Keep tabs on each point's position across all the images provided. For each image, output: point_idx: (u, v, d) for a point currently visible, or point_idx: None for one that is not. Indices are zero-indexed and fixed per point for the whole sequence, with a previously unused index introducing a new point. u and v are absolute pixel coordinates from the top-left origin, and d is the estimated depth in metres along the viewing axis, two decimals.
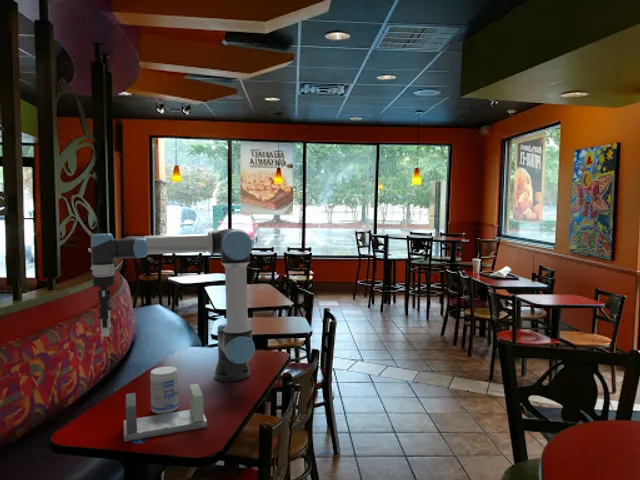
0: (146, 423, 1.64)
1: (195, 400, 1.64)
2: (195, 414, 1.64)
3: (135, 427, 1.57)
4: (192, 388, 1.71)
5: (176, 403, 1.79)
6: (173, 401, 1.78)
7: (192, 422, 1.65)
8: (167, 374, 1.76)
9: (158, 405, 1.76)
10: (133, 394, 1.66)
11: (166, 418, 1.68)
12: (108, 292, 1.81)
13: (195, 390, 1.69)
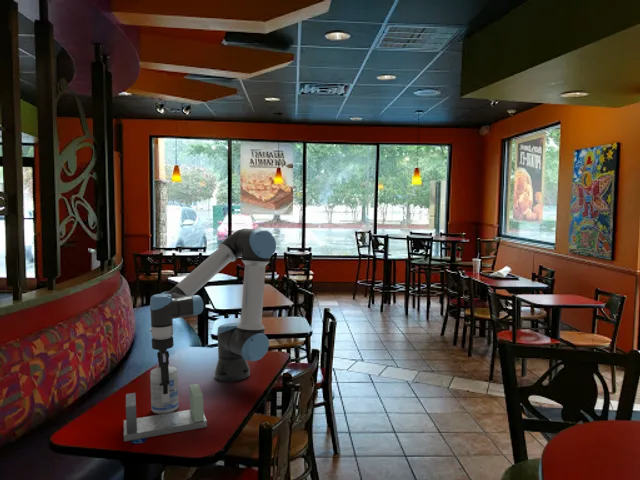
0: (146, 423, 1.64)
1: (195, 400, 1.64)
2: (195, 414, 1.64)
3: (135, 427, 1.57)
4: (192, 388, 1.71)
5: (176, 403, 1.79)
6: (173, 401, 1.78)
7: (192, 422, 1.65)
8: None
9: (158, 405, 1.76)
10: (133, 394, 1.66)
11: (166, 418, 1.68)
12: (167, 354, 1.78)
13: (195, 390, 1.69)
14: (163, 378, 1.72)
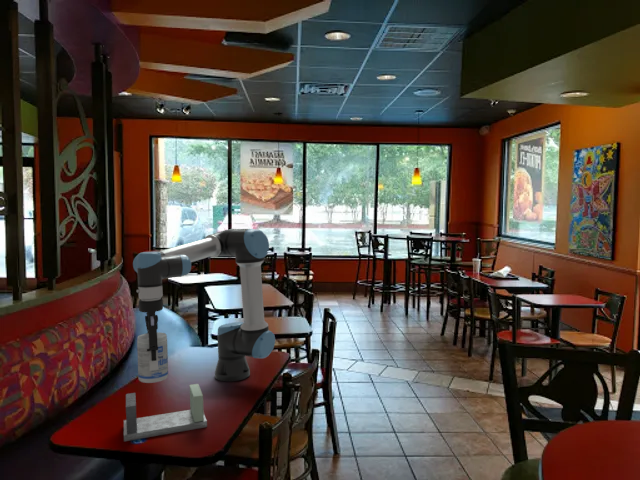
0: (146, 423, 1.64)
1: (195, 400, 1.64)
2: (195, 414, 1.64)
3: (135, 427, 1.57)
4: (192, 388, 1.71)
5: (165, 372, 1.63)
6: (162, 369, 1.61)
7: (192, 422, 1.65)
8: None
9: (146, 373, 1.59)
10: (133, 394, 1.66)
11: (166, 418, 1.68)
12: (156, 318, 1.62)
13: (195, 390, 1.69)
14: (151, 343, 1.56)
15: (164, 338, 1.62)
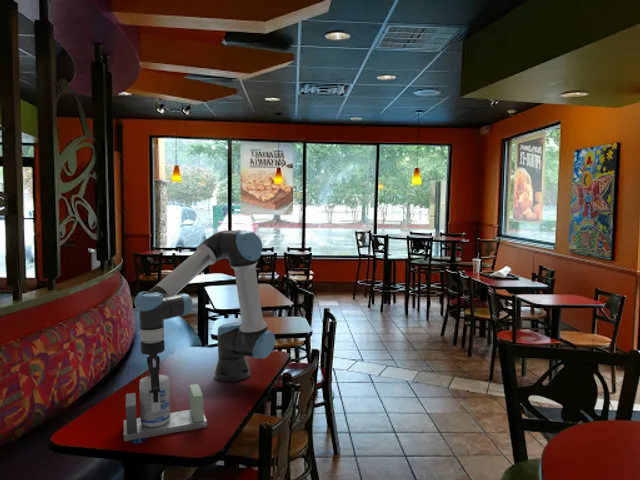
0: None
1: (195, 400, 1.64)
2: (195, 414, 1.64)
3: (135, 427, 1.57)
4: (192, 388, 1.71)
5: (167, 415, 1.64)
6: (164, 412, 1.63)
7: (192, 422, 1.65)
8: None
9: (148, 418, 1.61)
10: (133, 394, 1.66)
11: None
12: (158, 359, 1.63)
13: (195, 390, 1.69)
14: (153, 385, 1.56)
15: (166, 382, 1.64)
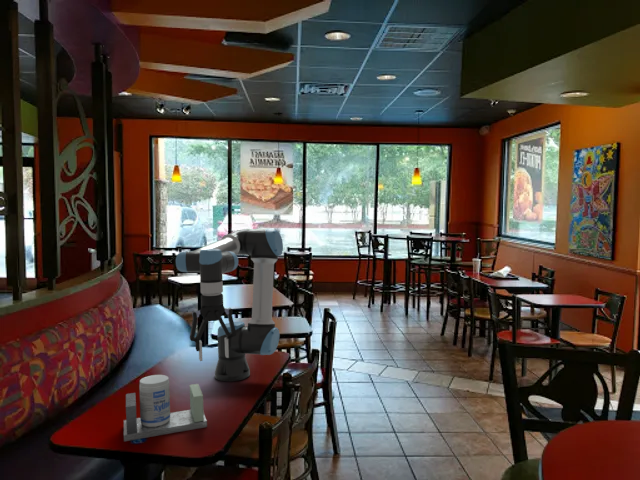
0: None
1: (195, 400, 1.64)
2: (195, 414, 1.64)
3: (135, 427, 1.57)
4: (192, 388, 1.71)
5: (167, 415, 1.64)
6: (164, 412, 1.63)
7: (192, 422, 1.65)
8: (157, 383, 1.61)
9: (148, 418, 1.61)
10: (133, 394, 1.66)
11: None
12: (207, 313, 1.68)
13: (195, 390, 1.69)
14: (190, 333, 1.68)
15: (166, 382, 1.64)
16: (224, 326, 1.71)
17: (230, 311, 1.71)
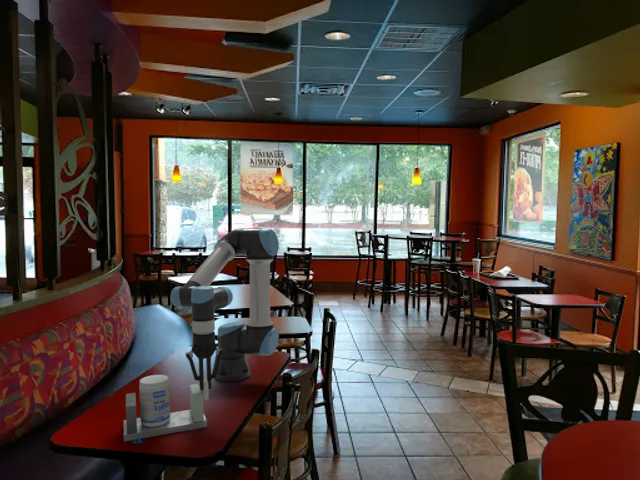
0: None
1: (195, 400, 1.64)
2: (195, 414, 1.64)
3: (135, 427, 1.57)
4: (192, 388, 1.71)
5: (167, 415, 1.64)
6: (164, 412, 1.63)
7: (192, 422, 1.65)
8: (157, 383, 1.61)
9: (148, 418, 1.61)
10: (133, 394, 1.66)
11: None
12: (199, 352, 1.68)
13: (195, 390, 1.69)
14: None
15: (166, 382, 1.64)
16: (209, 366, 1.70)
17: (220, 352, 1.71)
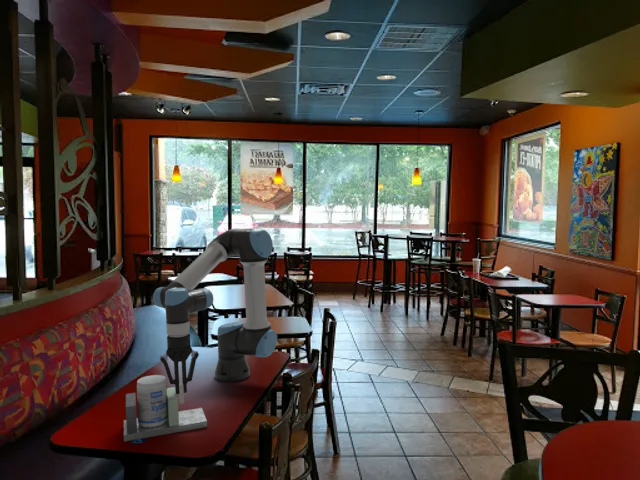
0: None
1: (170, 404, 1.61)
2: (170, 418, 1.61)
3: (135, 427, 1.57)
4: (168, 392, 1.68)
5: (165, 415, 1.64)
6: (161, 413, 1.62)
7: (192, 422, 1.65)
8: (155, 384, 1.61)
9: (145, 418, 1.60)
10: (133, 394, 1.66)
11: None
12: (174, 355, 1.65)
13: (170, 394, 1.66)
14: None
15: (163, 382, 1.63)
16: (184, 370, 1.67)
17: (196, 355, 1.68)
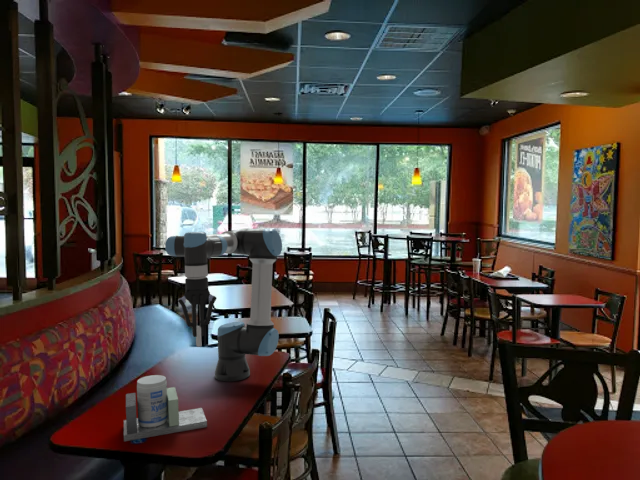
0: None
1: (170, 404, 1.61)
2: (170, 418, 1.61)
3: (135, 427, 1.57)
4: (168, 392, 1.68)
5: (165, 415, 1.64)
6: (161, 413, 1.62)
7: (192, 422, 1.65)
8: (155, 384, 1.61)
9: (145, 418, 1.60)
10: (133, 394, 1.66)
11: None
12: (192, 297, 1.66)
13: (170, 393, 1.66)
14: (185, 319, 1.68)
15: (164, 382, 1.63)
16: (202, 313, 1.68)
17: (213, 299, 1.69)
